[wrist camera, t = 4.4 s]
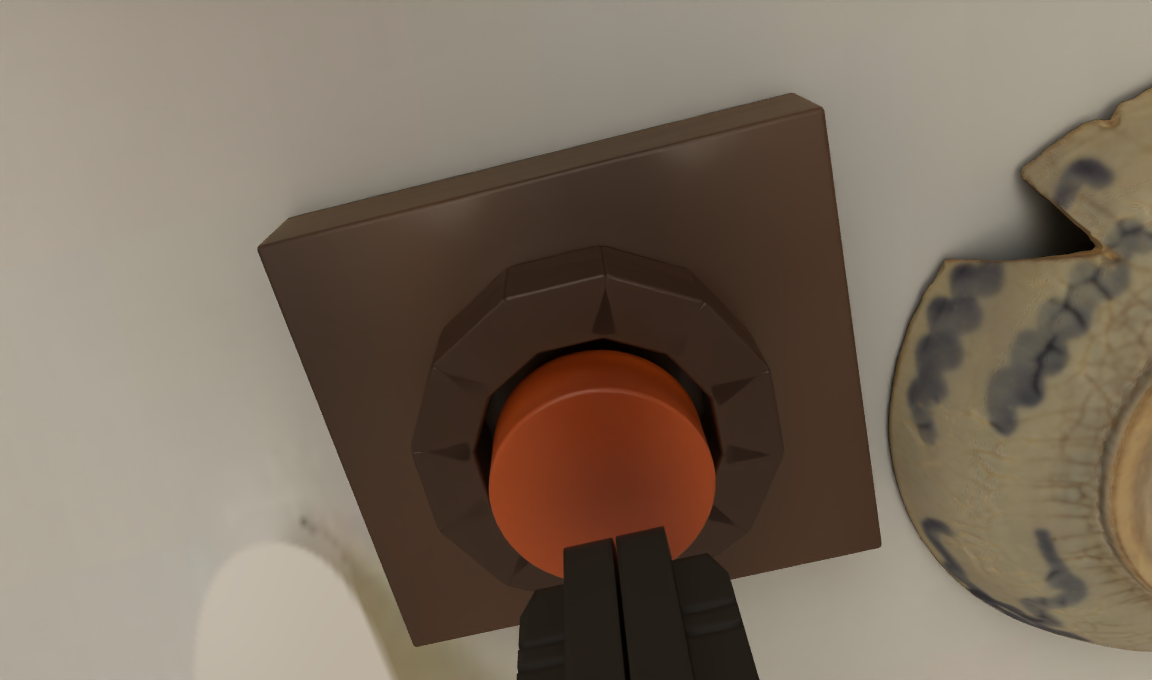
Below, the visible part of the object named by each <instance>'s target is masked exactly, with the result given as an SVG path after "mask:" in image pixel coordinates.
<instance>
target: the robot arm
mask: <svg viewBox="0 0 1152 680" xmlns="http://www.w3.org/2000/svg"><path fill="white" fill-rule="evenodd" d="M616 548H617V549H616ZM563 572H564V584H561V585H557V586H552V587H548V588H543V589H538V590H535V592H534V593H533V595H532V597H531V599H530V600H529V602H528V604H527V606H526V608H525V609H524V611H523V613H522V615H521V616H520V627H519V650H518V665H517V668H518V674H517V680H759V677H758V673H757V670H756V667H755V663H754V660H753V656H752V653H751V649H750V646H749V642H748V639H747V635H746V632H745V628H744V626H743V622H742V618H741V615H740V611H739V608H738V604H737V601H736V597H735V594H734V590H733V587H732V583H731V580H730V577H729V573H728V572H727V571H726V570H725V569H724V568H723V567H722V566H721V565H720V564H719V563H718V562H717V561H716V560H715V559H713V558H712V557H711V556H710V555H709V554H708V553H704V554H699V555H694V556H690V557H685V558H680V559H676V560H672V556H671V552H670V548H669V544H668V540H667V536H666V532H665V528H664V526H661V527H656V528H652V529H647V530H643V531H638V532H633V533H629V534H624V535H620V536H616V546H615V543H614V540H613V538H607V539H602V540H598V541H593V542H589V543H584V544H580V545H575V546H571V547H566V548H564V550H563Z"/></svg>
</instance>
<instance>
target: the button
mask: <svg viewBox="0 0 1152 680" xmlns="http://www.w3.org/2000/svg"><path fill="white" fill-rule="evenodd" d="M715 490H716V475H715V468H714V463H713V459H712V456H711V452H710V449H709V446H708V443H707V440H706V437H705V434H704V431H703V428H702V425H701V422H700V419H699V416H698V413H697V410H696V408H695V406H694V404H693V402H692V400H691V398H690V397H689V395H688V393H687V392H686V390H685V389H684V388H683V387H682V385H681V384H680V383H679V382H678V381H677V380H676V379H675V378H674V377H673V376H672V375H670V374H669V373H668V372H667V371H666V370H664V369H663V368H661V367H660V366H658V365H656V364H655V363H653V362H651V361H649V360H647V359H644V358H642V357H639V356H636V355H633V354H630V353H625V352H620V351H614V350H586V351H580V352H575V353H571V354H567V355H564V356H561V357H558V358H556V359H554V360H551V361H549V362H547V363H545V364H544V365H542V366H540V367H538V368H537V369H535V370H534V371H533V372H531V373H530V374H529V375H528V376H526V377H525V378H524V379H523V380H522V381H521V382H520V383H519V384H518V385H517V386H516V387H515V388H514V390H513V391H512V392H511V394H510V395H509V396H508V398H507V400H506V401H505V403H504V405H503V407H502V409H501V411H500V414H499V417H498V420H497V424H496V428H495V433H494V442H493V450H492V458H491V467H490V475H489V499H490V505H491V509H492V513H493V516H494V518H495V520H496V523H497V525H498V527H499V529H500V531H501V532H502V534H503V536H504V537H505V539H506V540H507V541H508V542H509V544H510V545H511V546H512V547H513V548H514V549H515V550H516V551H517V552H518V553H519V554H520V555H521V556H522V557H523V558H524V559H526V560H527V561H528V562H530V563H531V564H533V565H534V566H536V567H538V568H539V569H541V570H543V571H545V572H547V573H549V574H552V575H554V576H557V577H560V578H563V579H564V572H563V550H564V548H566V547H571V546H575V545H580V544H584V543H589V542H593V541H598V540H602V539H607V538H613V540H614V543H615V546H616V536H620V535H624V534H629V533H633V532H638V531H643V530H647V529H652V528H656V527H661V526H664V528H665V532H666V536H667V540H668V544H669V548H670V552H671V556H672V560H674V559H676V558H677V557H678V556H679V555H681V554H682V553H683V552H684V551H685V550H686V549H687V548H688V547H689V546H690V545H691V544H692V543H693V541H694V540H695V539H696V538H697V536H698V535H699V533H700V532H701V530H702V529H703V527H704V525H705V523H706V521H707V519H708V517H709V515H710V512H711V509H712V506H713V502H714V496H715ZM616 549H617V548H616Z"/></svg>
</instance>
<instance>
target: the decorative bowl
mask: <svg viewBox="0 0 1152 680" xmlns="http://www.w3.org/2000/svg"><path fill="white" fill-rule="evenodd" d="M1021 177H1022V178H1023V179H1024V180H1026V181H1027V182H1028V183H1029V184H1030V185H1031V186H1032V187H1033V188H1034V189H1035V190H1037V191H1038V192H1039V193H1040V194H1041V195H1043V196H1044V197H1045V198H1047V199H1048V200H1049V201H1050V202H1051V203H1052V204H1054V205H1055V206H1056V207H1057V208H1058V209H1059V210H1060V211H1061V212H1062V213H1063V214H1064V215H1065V216H1066V217H1067V218H1068V219H1069V220H1071V221H1072V222H1073V223H1074V224H1075V225H1076V226H1078V227H1079V228H1080V229H1082V230H1083V231H1084V232H1085V233H1086V234H1087V235H1088V236H1089V238H1090V240H1091V241H1092V242H1093V243H1094V244H1095V247H1094V249H1093V250H1089V251H1080V252H1076V253H1072V254H1066V255H1056V256H1047V257H1041V258H1032V259H1019V260H1005V261H987V260H959V259H948V260H944V262H943V265H942V267H941V269H940V270H939V272H938V274H937V277H936V278H935V280H934V282H933V283H932V285H930V286H929V287H928V289H927V291H926V293H925V295H923V296H922V301H921V303H920V306H919V308H918V309H917V311H916V312H915V314H914V316H913V317H912V319H911V321H910V324H909V326H908V330H907V332H906V335H905V338H904V343H903V346H902V348H901V351H900V354H899V355H898V360H897V366H896V369H895V377H894V380H893V384H892V395H891V405H890V412H889V443H890V447H891V457H892V462H893V468H894V473H895V477H896V480H897V484H898V486H899V489H900V494H901V496H902V499H903V502H904V504H905V507H906V510H907V512H908V514H909V516H910V518H911V520H912V522H913V524H914V526H915V528H916V530H917V532H918V533H919V535H920V537H921V539H922V540H923V542H924V543H925V544H926V546H927V547H928V548H929V549H930V551H931V553H932V554H933V555H934V557H935V558H936V559H937V560H938V562H939V563H940V564H941V565H942V566H943V567H944V568H945V569H946V570H947V571H948V573H949V574H950V575H952V576H953V577H954V579H956V580H957V581H958V582H959V583H960V584H961V585H962V586H964V587H965V588H966V589H967V590H968V591H970V592H971V593H972V594H973V595H975V596H976V597H977V598H979V599H981V600H982V601H983V602H985V603H987V604H989V605H990V606H992V607H994V608H995V609H997V610H999V611H1000V612H1002V613H1004V614H1006V615H1008V616H1010V617H1012V618H1014V619H1016V620H1019V621H1021V622H1024V623H1026V624H1029V625H1032V626H1035V627H1037V628H1040V629H1043V630H1046V631H1049V632H1052V633H1055V634H1058V635H1062V636H1065V637H1068V638H1072V639H1076V640H1080V641H1084V642H1089V643H1093V644H1097V645H1102V646H1107V647H1113V648H1119V649H1124V650H1133V651H1148V652H1152V88H1151V89H1147V90H1145V91H1143V92H1142V93H1141V94H1139V95H1138V96H1137V97H1136V98H1134V99H1131V100H1128V101H1124V102H1121V103H1120V104H1119V105H1118V106H1117V108H1116V110H1115V112H1114V114H1113V115H1112V118H1111V120H1100V119H1096V120H1093V121H1090V122H1086V123H1083V124H1082V125H1080V126H1079V127H1078V128H1077V129H1075V130H1073V131H1070V132H1069V133H1068V134H1067V135H1065V136H1064V137H1063V138H1062V139H1059V140H1057V141H1056V143H1054V144H1052V145H1050V146H1049V147H1048V148H1047V149H1045V150H1044V151H1043V152H1042V153H1041V155H1040V156H1039V157H1037V158H1036V159H1034V160H1033V161H1031V162H1029V163H1028V164H1027V165H1026V166H1024V167H1023V168H1022V170H1021Z"/></svg>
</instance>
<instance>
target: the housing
mask: <svg viewBox="0 0 1152 680" xmlns="http://www.w3.org/2000/svg"><path fill="white" fill-rule="evenodd" d="M257 251H258V253H259V256H260V258H261V261H262V263H263V266H264V268H265V271H266V273H267V276H268V278H269V281H270V283H271V286H272V288H273V291H274V294H275V296H276V299H277V301H278V304H279V306H280V309H281V311H282V314H283V316H284V319H285V321H286V324H287V326H288V329H289V331H290V334H291V337H292V339H293V342H294V344H295V347H296V349H297V352H298V354H299V357H300V359H301V362H302V364H303V367H304V369H305V372H306V375H307V377H308V380H309V382H310V385H311V387H312V390H313V392H314V395H315V397H316V400H317V402H318V405H319V407H320V410H321V412H322V415H323V418H324V420H325V423H326V425H327V428H328V430H329V433H330V435H331V438H332V440H333V443H334V445H335V448H336V450H337V453H338V455H339V458H340V461H341V463H342V466H343V468H344V471H345V473H346V476H347V478H348V481H349V483H350V486H351V488H352V491H353V493H354V496H355V498H356V501H357V504H358V506H359V509H360V511H361V514H362V516H363V519H364V521H365V524H366V526H367V529H368V531H369V534H370V536H371V539H372V541H373V544H374V547H375V549H376V552H377V554H378V557H379V559H380V562H381V564H382V567H383V569H384V572H385V574H386V577H387V579H388V582H389V584H390V587H391V590H392V592H393V595H394V597H395V600H396V602H397V605H398V607H399V610H400V612H401V615H402V617H403V620H404V622H405V625H406V628H407V630H408V633H409V635H410V638H411V640H412V643H413V645H414V646H415V647H418V646H423V645H428V644H432V643H437V642H442V641H446V640H451V639H456V638H460V637H465V636H470V635H474V634H479V633H484V632H488V631H493V630H498V629H502V628H507V627H512V626H516V625H520V616H521V615H522V613H523V611H524V609H525V608H526V606H527V604H528V602H529V600H530V599H531V597H532V595H533V593H534V592H535V590H538V589H543V588H548V587H552V586H557V585H561V584H564V579H563V578H560V577H557V576H554V575H552V574H549V573H547V572H545V571H543V570H541V569H539V568H538V567H536V566H534V565H533V564H531V563H530V562H528V561H527V560H526V559H524V558H523V557H522V556H521V555H520V554H519V553H518V552H517V551H516V550H515V549H514V548H513V547H512V546H511V545H510V544H509V542H508V541H507V540H506V539H505V537H504V536H503V534H502V532H501V531H500V529H499V527H498V525H497V523H496V520H495V518H494V516H493V513H492V509H491V505H490V499H489V475H490V467H491V458H492V450H493V442H494V433H495V428H496V424H497V420H498V417H499V414H500V411H501V409H502V407H503V405H504V403H505V401H506V400H507V398H508V396H509V395H510V394H511V392H512V391H513V390H514V388H515V387H516V386H517V385H518V384H519V383H520V382H521V381H522V380H523V379H524V378H525V377H526V376H528V375H529V374H530V373H531V372H533V371H534V370H535V369H537V368H538V367H540V366H542V365H544V364H545V363H547V362H549V361H551V360H554V359H556V358H558V357H561V356H564V355H567V354H571V353H575V352H580V351H586V350H614V351H620V352H625V353H630V354H633V355H636V356H639V357H642V358H644V359H647V360H649V361H651V362H653V363H655V364H656V365H658V366H660V367H661V368H663V369H664V370H666V371H667V372H668V373H669V374H670V375H672V376H673V377H674V378H675V379H676V380H677V381H678V382H679V383H680V384H681V385H682V387H683V388H684V389H685V390H686V392H687V393H688V395H689V397H690V398H691V400H692V402H693V404H694V406H695V408H696V410H697V413H698V416H699V419H700V422H701V425H702V428H703V431H704V434H705V437H706V440H707V443H708V446H709V449H710V452H711V456H712V459H713V463H714V468H715V475H716V490H715V496H714V502H713V506H712V509H711V512H710V515H709V517H708V519H707V521H706V523H705V525H704V527H703V529H702V530H701V532H700V533H699V535H698V536H697V538H696V539H695V540H694V541H693V543H692V544H691V545H690V546H689V547H688V548H687V549H686V550H685V551H684V552H683V553H682V554H681V555H679V556H678V557H677V558H676V559H680V558H685V557H690V556H694V555H699V554H704V553H708V554H709V555H710V556H711V557H712V558H713V559H715V560H716V561H717V562H718V563H719V564H720V565H721V566H722V567H723V568H724V569H725V570H726V571H727V572H728V573H729V577H730V580H731V579H736V578H740V577H745V576H750V575H754V574H759V573H764V572H768V571H773V570H778V569H783V568H787V567H792V566H797V565H801V564H806V563H811V562H815V561H820V560H825V559H829V558H834V557H839V556H843V555H848V554H853V553H857V552H862V551H867V550H871V549H876V548H879V547H881V536H880V528H879V521H878V513H877V505H876V498H875V490H874V483H873V475H872V468H871V460H870V453H869V445H868V437H867V430H866V422H865V415H864V407H863V400H862V392H861V385H860V377H859V369H858V362H857V354H856V347H855V339H854V332H853V324H852V317H851V309H850V301H849V294H848V286H847V279H846V271H845V264H844V256H843V249H842V241H841V233H840V226H839V218H838V211H837V203H836V196H835V188H834V181H833V173H832V166H831V158H830V150H829V143H828V135H827V128H826V120H825V113H824V109H823V108H822V107H821V106H819V105H817V104H815V103H813V102H811V101H809V100H807V99H805V98H803V97H801V96H799V95H797V94H795V93H789V94H785V95H781V96H777V97H773V98H769V99H765V100H761V101H757V102H753V103H749V104H745V105H741V106H737V107H733V108H729V109H725V110H721V111H717V112H712V113H708V114H704V115H700V116H696V117H692V118H688V119H684V120H680V121H676V122H672V123H668V124H664V125H660V126H656V127H652V128H648V129H644V130H640V131H636V132H632V133H628V134H624V135H620V136H616V137H612V138H608V139H604V140H600V141H596V142H592V143H588V144H584V145H580V146H576V147H572V148H568V149H564V150H560V151H556V152H552V153H548V154H544V155H540V156H536V157H532V158H528V159H524V160H520V161H516V162H512V163H508V164H504V165H500V166H496V167H492V168H488V169H484V170H480V171H476V172H472V173H468V174H464V175H460V176H456V177H452V178H448V179H444V180H440V181H435V182H431V183H427V184H423V185H419V186H415V187H411V188H407V189H403V190H399V191H395V192H391V193H387V194H383V195H379V196H375V197H371V198H367V199H363V200H359V201H355V202H351V203H347V204H343V205H339V206H335V207H331V208H327V209H323V210H319V211H315V212H311V213H307V214H303V215H299V216H295V217H291V218H288V219H287V220H286V221H285V222H283V223H282V224H281V225H280V226H279V227H278V228H277V229H276V230H275V231H274V232H273V233H272V234H271V235H270V236H269V237H268V238H267V239H265V240H264V241H263V242H262V243H261V244H260V245H259V246H258V249H257ZM676 559H674V560H676Z"/></svg>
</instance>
